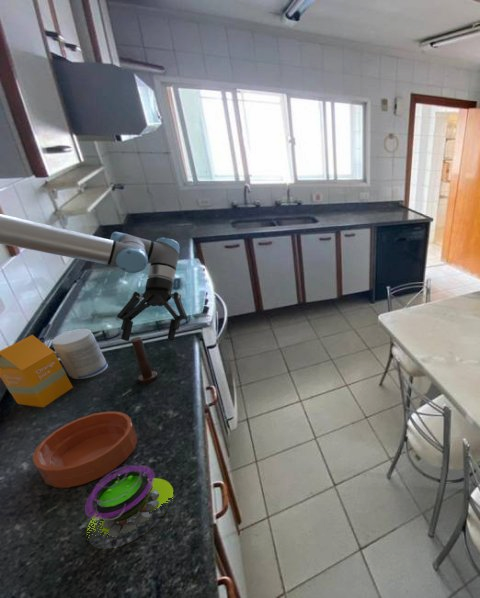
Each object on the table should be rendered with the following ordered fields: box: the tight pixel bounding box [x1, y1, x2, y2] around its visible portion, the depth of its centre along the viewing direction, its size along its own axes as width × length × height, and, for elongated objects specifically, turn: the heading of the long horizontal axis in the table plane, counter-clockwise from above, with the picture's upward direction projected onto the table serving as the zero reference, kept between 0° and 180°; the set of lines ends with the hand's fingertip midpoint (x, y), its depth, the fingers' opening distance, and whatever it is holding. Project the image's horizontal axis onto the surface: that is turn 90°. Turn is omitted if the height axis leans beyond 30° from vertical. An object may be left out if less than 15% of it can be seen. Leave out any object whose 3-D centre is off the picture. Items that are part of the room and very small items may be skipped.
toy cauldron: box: [84, 465, 174, 538], centre depth 68 cm, size 15×15×11 cm
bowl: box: [32, 410, 138, 489], centre depth 81 cm, size 18×18×6 cm
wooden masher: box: [130, 336, 159, 384], centre depth 105 cm, size 5×5×16 cm
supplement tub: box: [51, 328, 109, 380], centre depth 106 cm, size 10×10×15 cm
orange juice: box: [0, 334, 74, 408], centre depth 93 cm, size 8×9×20 cm
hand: (148, 339), depth 108 cm, fingers open, 13 cm apart
